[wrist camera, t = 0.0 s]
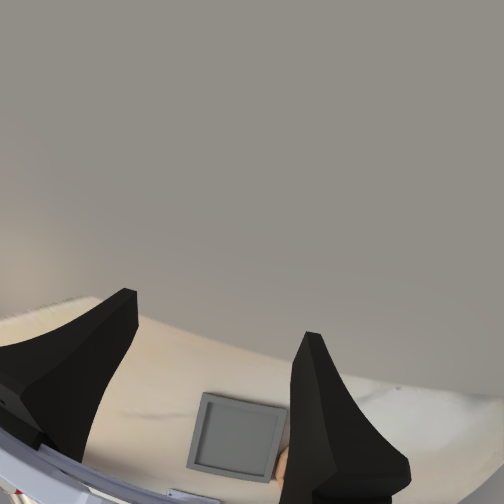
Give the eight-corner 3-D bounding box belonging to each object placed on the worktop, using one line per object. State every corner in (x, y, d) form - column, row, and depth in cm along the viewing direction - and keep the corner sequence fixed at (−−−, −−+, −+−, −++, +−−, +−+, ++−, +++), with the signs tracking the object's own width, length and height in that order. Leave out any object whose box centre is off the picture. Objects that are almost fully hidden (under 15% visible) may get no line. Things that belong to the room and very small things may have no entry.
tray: (267, 480, 36) (269, 483, 35) (187, 464, 36) (185, 467, 35) (286, 408, 40) (287, 410, 39) (203, 392, 41) (202, 393, 39)
